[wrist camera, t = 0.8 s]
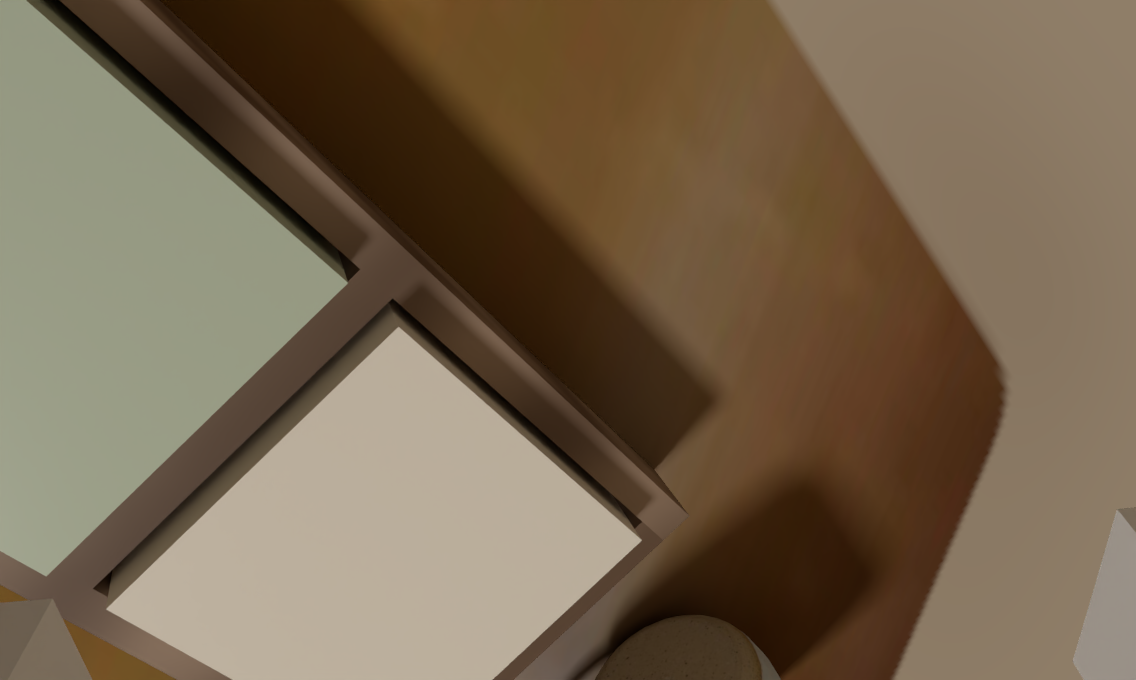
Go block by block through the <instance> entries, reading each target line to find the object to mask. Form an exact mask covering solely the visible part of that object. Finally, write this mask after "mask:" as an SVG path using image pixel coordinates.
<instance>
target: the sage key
mask: <svg viewBox="0 0 1136 680" xmlns="http://www.w3.org/2000/svg"><path fill="white" fill-rule="evenodd" d="M347 284H348V281H347V278H346V275H345V272H344V269H343V266H342V263H341V259H340V256H339V253H338V250H337V248H335V247H334V246H333V245H332V244H331V243H330V242H329V241H328V240H326V239H325V238H324V237H323V236H322V235H321V234H320V233H319V232H318V231H316V230H315V229H314V228H313V227H312V226H311V225H310V224H309V223H307V222H306V221H305V220H304V219H303V218H302V217H301V216H300V215H299V214H297V213H296V212H295V211H294V210H293V209H292V208H291V207H290V206H288V205H287V204H286V203H285V202H284V201H283V200H282V199H281V198H280V197H278V196H277V195H276V194H275V193H274V192H273V191H272V190H271V189H269V188H268V187H267V186H266V185H265V184H264V183H263V182H262V181H261V180H259V179H258V178H257V177H256V176H255V175H254V174H253V173H252V172H250V171H249V170H248V169H247V168H246V167H245V166H244V165H243V164H242V163H240V162H239V161H238V160H237V159H236V158H235V157H234V156H233V155H231V154H230V153H229V152H228V151H227V150H226V149H225V148H224V147H222V146H221V145H220V144H219V143H218V142H217V141H216V140H215V139H214V138H212V137H211V136H210V135H209V134H208V133H207V132H206V131H205V130H203V129H202V128H201V127H200V126H199V125H198V124H197V123H196V122H195V121H193V120H192V119H191V118H190V117H189V116H188V115H187V114H186V113H184V112H183V111H182V110H181V109H180V108H179V107H178V106H177V105H176V104H174V103H173V102H172V101H171V100H170V99H169V98H168V97H167V96H165V95H164V94H163V93H162V92H161V91H160V90H159V89H158V88H157V87H155V86H154V85H153V84H152V83H151V82H150V81H149V80H148V79H146V78H145V77H144V76H143V75H142V74H141V73H140V72H139V71H138V70H136V69H135V68H134V67H133V66H132V65H131V64H130V63H129V62H127V61H126V60H125V59H124V58H123V57H122V56H121V55H120V54H119V53H117V52H116V51H115V50H114V49H113V48H112V47H111V46H110V45H108V44H107V43H106V42H105V41H104V40H103V39H102V38H101V37H99V36H98V35H97V34H96V33H95V32H94V31H93V30H92V29H91V28H89V27H88V26H87V25H86V24H85V23H84V22H83V21H82V20H80V19H79V18H78V17H77V16H76V15H75V14H74V13H73V12H72V11H70V10H69V9H68V8H67V7H66V6H65V5H64V4H63V3H61V2H60V1H59V0H0V551H1V552H3V553H5V554H7V555H8V556H10V557H12V558H14V559H16V560H17V561H19V562H21V563H23V564H25V565H26V566H28V567H30V568H32V569H34V570H35V571H37V572H39V573H41V574H43V575H44V576H47V575H48V574H49V573H50V572H51V571H53V570H54V569H55V568H56V567H57V566H58V565H59V564H60V563H61V562H62V561H63V560H64V559H65V558H66V557H67V556H68V555H69V554H70V553H71V552H72V551H73V550H74V549H75V548H76V547H77V546H78V545H79V544H80V543H81V542H82V541H83V540H84V539H85V538H86V537H87V536H89V535H90V534H91V533H92V532H93V531H94V530H95V529H96V528H97V527H98V526H99V525H100V524H101V523H102V522H103V521H104V520H105V519H106V518H107V517H108V516H109V515H110V514H111V513H112V512H113V511H114V510H115V509H116V508H117V507H118V506H119V505H120V504H121V503H122V502H123V501H125V500H126V499H127V498H128V497H129V496H130V495H131V494H132V493H133V492H134V491H135V490H136V489H137V488H138V487H139V486H140V485H141V484H142V483H143V482H144V481H145V480H146V479H147V478H148V477H149V476H150V475H151V474H152V473H153V472H154V471H155V470H156V469H157V468H158V467H159V466H161V465H162V464H163V463H164V462H165V461H166V460H167V459H168V458H169V457H170V456H171V455H172V454H173V453H174V452H175V451H176V450H177V449H178V448H179V447H180V446H181V445H182V444H183V443H184V442H185V441H186V440H187V439H188V438H189V437H190V436H191V435H192V434H193V433H194V432H195V431H197V430H198V429H199V428H200V427H201V426H202V425H203V424H204V423H205V422H206V421H207V420H208V419H209V418H210V417H211V416H212V415H213V414H214V413H215V412H216V411H217V410H218V409H219V408H220V407H221V406H222V405H223V404H224V403H225V402H226V401H227V400H228V399H229V398H230V397H231V396H232V395H234V394H235V393H236V392H237V391H238V390H239V389H240V388H241V387H242V386H243V385H244V384H245V383H246V382H247V381H248V380H249V379H250V378H251V377H252V376H253V375H254V374H255V373H256V372H257V371H258V370H259V369H260V368H261V367H262V366H263V365H264V364H265V363H266V362H267V361H268V360H270V359H271V358H272V357H273V356H274V355H275V354H276V353H277V352H278V351H279V350H280V349H281V348H282V347H283V346H284V345H285V344H286V343H287V342H288V341H289V340H290V339H291V338H292V337H293V336H294V335H295V334H296V333H297V332H298V331H299V330H300V329H301V328H302V327H303V326H304V325H306V324H307V323H308V322H309V321H310V320H311V319H312V318H313V317H314V316H315V315H316V314H317V313H318V312H319V311H320V310H321V309H322V308H323V307H324V306H325V305H326V304H327V303H328V302H329V301H330V300H331V299H332V298H333V297H334V296H335V295H336V294H337V293H338V292H339V291H340V290H342V289H343V288H344V287H345V286H346V285H347Z"/></svg>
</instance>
